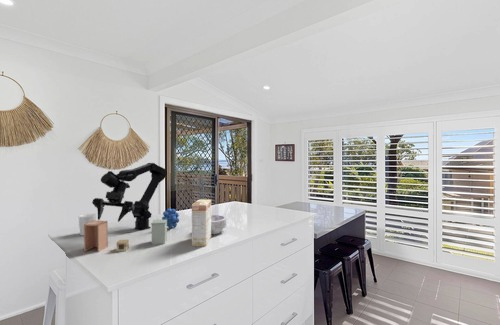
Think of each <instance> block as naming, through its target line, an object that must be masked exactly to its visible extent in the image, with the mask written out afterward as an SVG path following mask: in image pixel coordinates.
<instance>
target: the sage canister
mask: <svg viewBox="0 0 500 325" xmlns="http://www.w3.org/2000/svg"><path fill="white" fill-rule="evenodd" d="M150 225H151V245H165V244H166V242H167V241H168V226H167V220H162V219H154V220H152V222H151V224H150Z"/></svg>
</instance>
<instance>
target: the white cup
mask: <svg viewBox="0 0 500 325" xmlns="http://www.w3.org/2000/svg"><path fill="white" fill-rule="evenodd" d="M96 217H97V215H96V213H85V214H80V215H78V227H79V235H80V236H83V237H84V224H86V223H89V222H91V221H97V218H96Z"/></svg>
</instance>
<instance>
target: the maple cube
mask: <svg viewBox="0 0 500 325" xmlns="http://www.w3.org/2000/svg"><path fill="white" fill-rule="evenodd" d="M115 244H116V245H115V246H116V252H127V251H128V250H129V248H130V239H129V238H128V239H127V238H126V239H125V238H124V239H118V241H117V242H116V243H115Z"/></svg>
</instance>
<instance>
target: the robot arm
mask: <svg viewBox="0 0 500 325" xmlns="http://www.w3.org/2000/svg"><path fill="white" fill-rule="evenodd" d="M147 172H149V173H150V175H151V176H150V177H151V179H150V182H149V184H148V185H147V187H146V189H145V191H144V193H143V195H142V196H141V198H140V199H139V200H135V201H134V202H133V201H130V200H129V201H128V200H124V202H123V199H125V198H124V197H125V192H126V190H127V189H130V188H131V186H130V184H129V182H132V181H134V180H136V178H137V177H139V176H140V175H142V174H145V173H147ZM167 175H168V172H167V168H164V167H162V166H160V165H158V164H156V163H155V162H147V163H146V164H143V165H140V166H138V167H135V168H132V169H124V170H119V171H118V173H117V174H116V173H114V172H113V171H110V170H108V171H107V172H106V173H104V174H103V175H102V176H101V178H100V182H101V183H102V184H104V185H106V186H107V187H109V188H112V190H111V191H106V194H105V199H106V200H107V201H106V200H104V198H102V197H101V198H100V197H99V198H98V197H95V198H93V199H92V202H91V204H92V205H93V206H94V207H95V208H96V209H97V210H96V211H97V221H101V217H102V215H103V212H104V210H105V208H104V207H105V206H107V207H108V206H110V207H118V208H119V207H120V208H121V212H120V213H119V216H118V218H117V222H120V221H121V220H122V219H123V218H124V217H125V216H126V215H127V214H128V213H131V214H132V216H133V218H135V221H134V226H135V227H134V229H135V230H138V231H142V230H147V229H151V226H150V218H152V215H153V214H152V213H151V211H149V209H150V201H151V199H152V197H153V195H154V194H155V192H156V190H157V189H158V186H159V185H160V183H161V182H162V181H164V180H165V178H166V177H167Z"/></svg>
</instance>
